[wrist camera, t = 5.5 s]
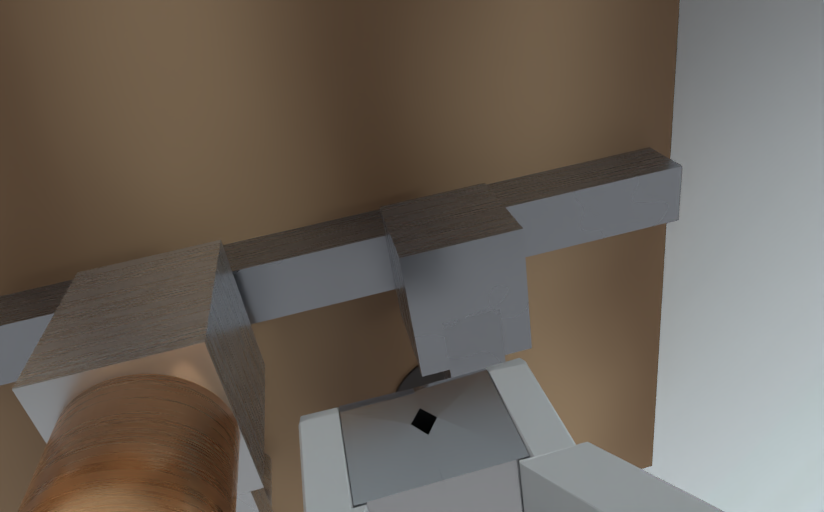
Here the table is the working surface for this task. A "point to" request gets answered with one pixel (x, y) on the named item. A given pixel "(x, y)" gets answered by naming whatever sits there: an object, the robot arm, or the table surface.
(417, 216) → the bar
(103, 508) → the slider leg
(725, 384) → the table surface
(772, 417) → the table surface
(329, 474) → the robot arm
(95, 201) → the brown wooden board
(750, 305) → the table surface
